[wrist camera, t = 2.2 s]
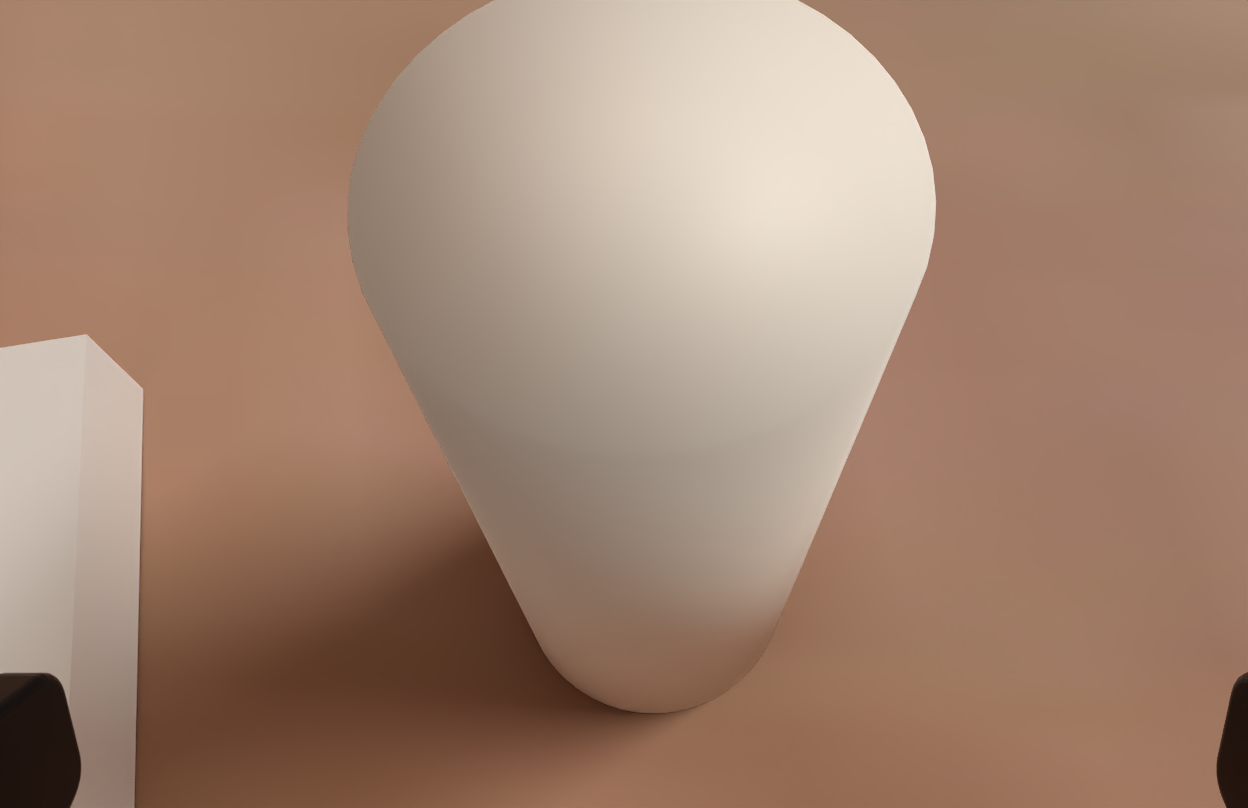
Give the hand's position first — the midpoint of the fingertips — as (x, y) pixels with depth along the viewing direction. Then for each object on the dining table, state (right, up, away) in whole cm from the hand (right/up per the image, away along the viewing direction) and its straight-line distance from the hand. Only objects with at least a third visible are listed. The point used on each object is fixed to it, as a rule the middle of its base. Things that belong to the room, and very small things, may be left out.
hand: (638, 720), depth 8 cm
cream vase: (0, -1, +13) cm, 13 cm away
